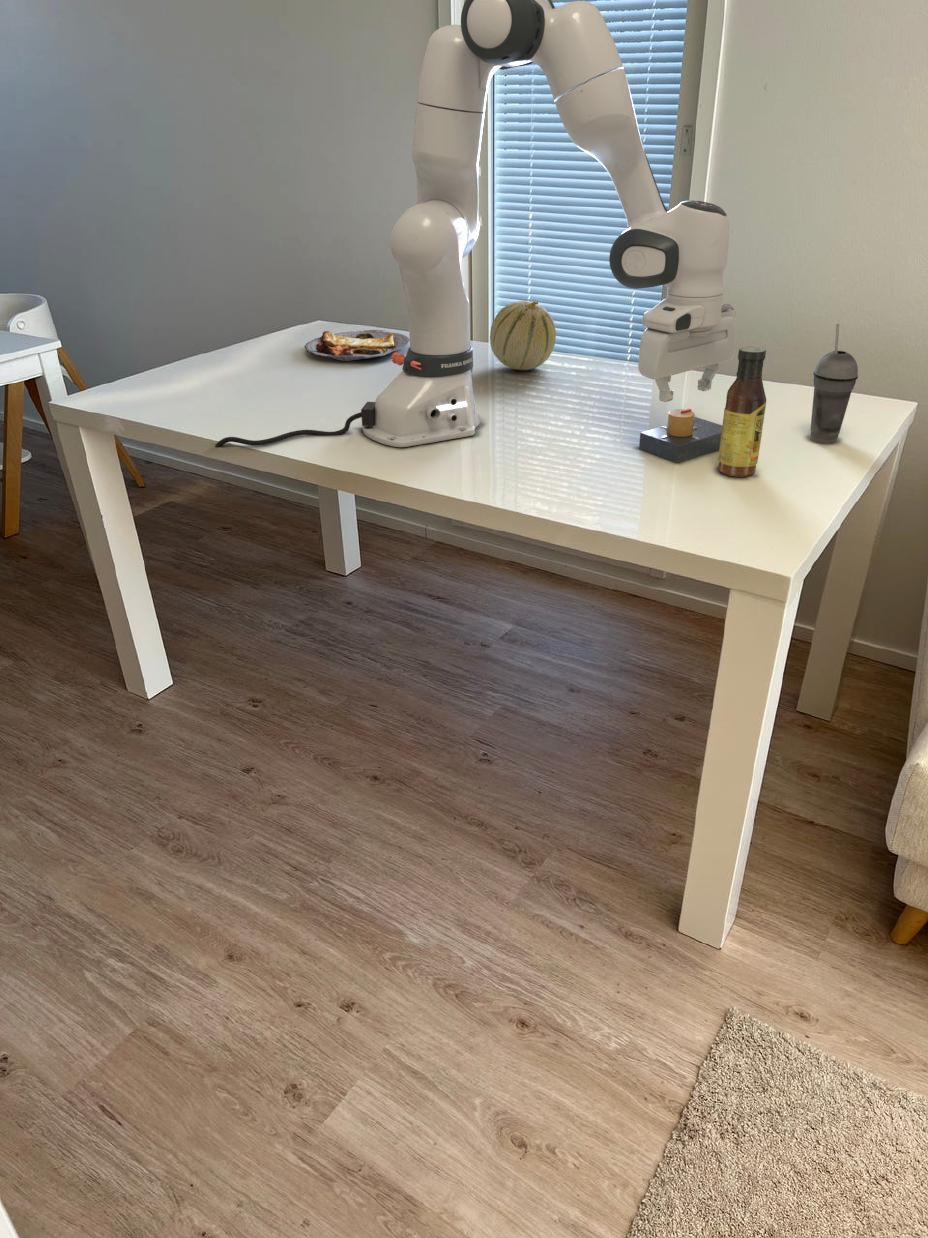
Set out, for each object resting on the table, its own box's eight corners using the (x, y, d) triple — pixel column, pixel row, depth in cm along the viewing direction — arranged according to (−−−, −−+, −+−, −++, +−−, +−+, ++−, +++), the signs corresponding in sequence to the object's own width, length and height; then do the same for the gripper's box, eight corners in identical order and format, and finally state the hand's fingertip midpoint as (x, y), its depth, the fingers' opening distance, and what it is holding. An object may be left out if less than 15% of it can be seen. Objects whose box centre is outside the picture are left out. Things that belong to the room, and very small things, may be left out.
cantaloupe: (493, 359, 214) (493, 292, 207) (556, 360, 213) (558, 293, 205) (485, 377, 202) (485, 306, 194) (553, 378, 200) (555, 307, 192)
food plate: (292, 363, 215) (291, 347, 213) (322, 338, 234) (321, 324, 233) (397, 366, 211) (396, 350, 209) (418, 341, 231) (417, 327, 229)
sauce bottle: (757, 479, 148) (776, 355, 138) (717, 477, 149) (733, 353, 139) (754, 465, 154) (772, 344, 144) (715, 463, 155) (731, 343, 145)
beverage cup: (839, 449, 160) (863, 331, 150) (797, 442, 163) (817, 326, 153) (849, 436, 165) (872, 322, 155) (807, 430, 168) (828, 317, 158)
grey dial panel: (677, 463, 155) (679, 445, 154) (638, 448, 161) (640, 431, 160) (732, 445, 162) (734, 428, 161) (693, 432, 169) (695, 415, 167)
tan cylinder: (680, 438, 157) (682, 417, 155) (661, 432, 160) (663, 410, 158) (697, 433, 159) (700, 411, 157) (678, 426, 162) (680, 405, 160)
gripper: (720, 299, 156) (711, 379, 163) (634, 317, 146) (629, 402, 153) (750, 304, 152) (740, 387, 159) (664, 323, 142) (657, 411, 149)
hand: (685, 395), depth 156 cm, fingers open, 8 cm apart
